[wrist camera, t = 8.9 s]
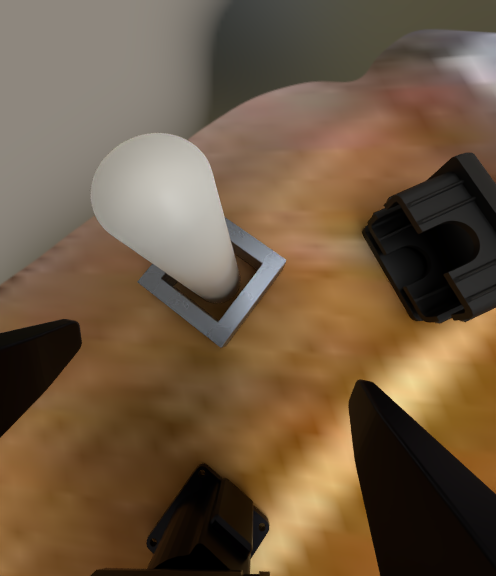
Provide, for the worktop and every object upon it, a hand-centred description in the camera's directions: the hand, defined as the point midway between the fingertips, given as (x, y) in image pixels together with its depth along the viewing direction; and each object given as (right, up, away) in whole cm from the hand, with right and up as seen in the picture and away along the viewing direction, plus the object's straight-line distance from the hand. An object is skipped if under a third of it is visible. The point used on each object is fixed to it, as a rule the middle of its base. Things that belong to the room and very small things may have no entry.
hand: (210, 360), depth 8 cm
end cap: (+16, +5, +14) cm, 22 cm away
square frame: (-1, +3, +14) cm, 14 cm away
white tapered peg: (-1, +3, +14) cm, 14 cm away
